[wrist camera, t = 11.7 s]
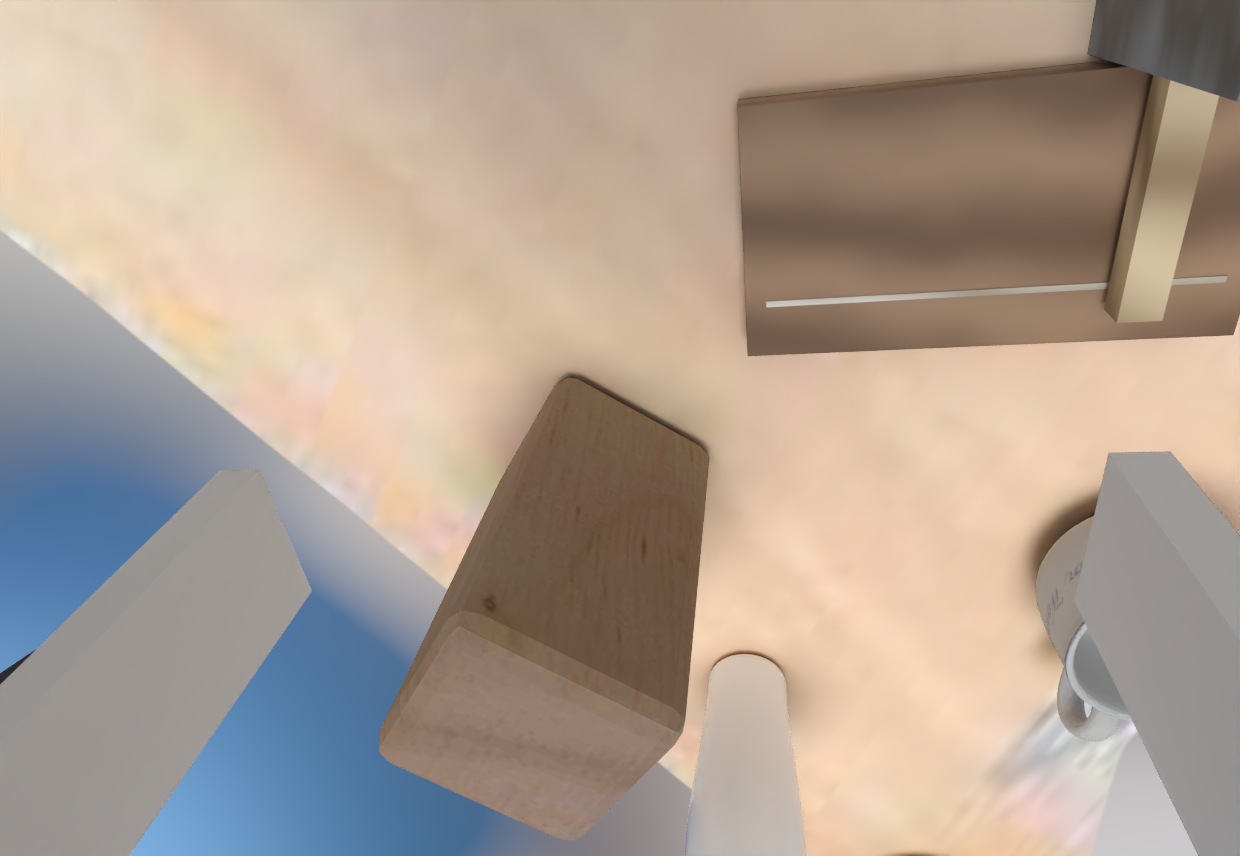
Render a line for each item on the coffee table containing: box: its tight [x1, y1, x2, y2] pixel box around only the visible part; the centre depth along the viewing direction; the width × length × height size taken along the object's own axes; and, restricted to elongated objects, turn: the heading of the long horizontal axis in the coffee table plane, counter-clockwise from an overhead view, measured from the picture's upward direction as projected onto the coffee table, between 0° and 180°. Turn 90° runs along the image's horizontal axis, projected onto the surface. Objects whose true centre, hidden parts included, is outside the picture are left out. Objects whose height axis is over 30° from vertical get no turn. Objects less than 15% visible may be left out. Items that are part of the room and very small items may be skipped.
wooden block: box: [380, 377, 709, 840], centre depth 39 cm, size 10×10×20 cm
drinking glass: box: [685, 654, 806, 856], centre depth 49 cm, size 7×7×15 cm
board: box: [738, 61, 1240, 356], centre depth 36 cm, size 12×22×2 cm, turn 97°
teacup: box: [1036, 516, 1132, 741], centre depth 43 cm, size 14×11×8 cm
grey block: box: [1088, 0, 1240, 323], centre depth 28 cm, size 16×5×12 cm, turn 7°
